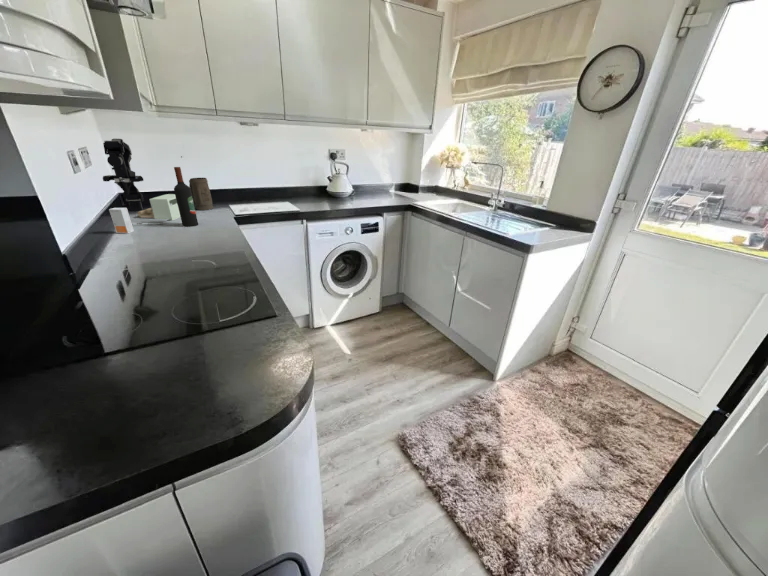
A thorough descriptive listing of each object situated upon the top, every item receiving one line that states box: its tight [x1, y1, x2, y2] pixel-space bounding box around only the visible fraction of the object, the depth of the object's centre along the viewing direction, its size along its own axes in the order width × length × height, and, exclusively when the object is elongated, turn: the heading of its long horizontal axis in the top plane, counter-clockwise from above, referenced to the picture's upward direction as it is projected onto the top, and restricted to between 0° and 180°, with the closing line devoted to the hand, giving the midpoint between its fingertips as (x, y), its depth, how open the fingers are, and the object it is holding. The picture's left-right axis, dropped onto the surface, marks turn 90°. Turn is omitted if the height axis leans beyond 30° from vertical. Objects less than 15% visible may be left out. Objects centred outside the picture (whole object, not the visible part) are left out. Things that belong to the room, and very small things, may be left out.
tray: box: [136, 207, 155, 219], centre depth 191 cm, size 12×18×4 cm, turn 93°
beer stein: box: [188, 177, 215, 211], centre depth 212 cm, size 15×11×20 cm
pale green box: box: [149, 193, 181, 222], centre depth 190 cm, size 17×10×12 cm, turn 3°
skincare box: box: [108, 207, 135, 235], centre depth 159 cm, size 6×4×12 cm
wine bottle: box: [173, 166, 199, 228], centre depth 171 cm, size 8×8×30 cm
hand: (127, 194), depth 186 cm, fingers closed
